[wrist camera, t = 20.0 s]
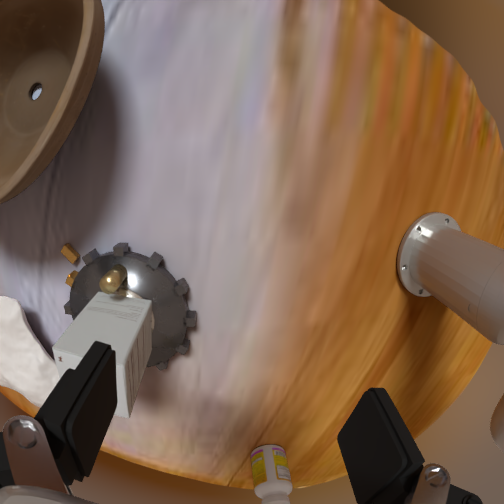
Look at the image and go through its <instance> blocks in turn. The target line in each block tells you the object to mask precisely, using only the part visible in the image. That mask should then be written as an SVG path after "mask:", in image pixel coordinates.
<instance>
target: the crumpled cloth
mask: <svg viewBox="0 0 504 504" xmlns="http://www.w3.org/2000/svg"><path fill="white" fill-rule="evenodd" d="M59 380H60V378H59V374H58V370H57V367H56V363H55V361H54V360H53V359H52V358H51V357H50V355H49V354H48V353H47V352H46V350H45V349H44V348H43V346H42V344H41V343H40V341H39V340H38V339H37V337H36V336H35V334H34V333H33V331H32V329H31V327H30V325H29V323H28V322H27V319H26V315H25V312H24V310H23V308H22V307H21V304H20V302H19V301H18V300H16V299H13V298H9V297H7V296H0V385H1V386H4V387H8V388H11V389H13V390H15V391H17V392H19V393H21V394H22V395H24V396H25V397H26V398H27V399H28V400H29V401H30V402H31V403H33V404H35V405H36V406H38V407H40V408H41V407H42V405H43V404H44V402H45V401H46V399H47V398H48V396H49V395H50V393H51V392H52V390H53V389H54V387H55V386H56V384H57V383H58V381H59Z"/></svg>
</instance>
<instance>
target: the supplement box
mask: <svg viewBox="0 0 504 504" xmlns="http://www.w3.org/2000/svg"><path fill="white" fill-rule="evenodd" d="M95 341H100V342H103V343H106V344H109V345H111V348H112V350H115V352H116V381H117V399H118V402H117V408H116V411H115V413H114V415H116V416H120V417H124V418H128V419H129V418H130V415H131V412H132V409H133V405H134V402H135V399H136V396H137V392H138V389H139V386H140V383H141V380H142V377H143V374H144V371H145V368H146V365H147V362H148V359H149V357H150V354H151V351H152V301H151V300H145V299H139V298H133V297H127V296H121V295H115V294H106V293H103V292H98V293H97V294H96V295H95V296H94V297H93V298H92V300H91V301H90V302H89V303H88V304H87V305H86V307H85V308H84V309H83V310H82V311H81V312H80V314H79V315H78V316H77V317H76V318H75V320H74V321H73V322H72V323H71V325H70V326H69V327H68V328H67V329H66V331H65V332H64V333H63V334H62V336H61V337H60V338H59V339H58V341H57V342H56V343H55V345H54V346H53V347H52V349H53V353H54V358H55V363H56V367H57V370H58V374H59V378H61V377H62V376H63V374H64V373H65V371H66V370H67V369H69V368H71V369H74V370H75V369H76V367H77V366H78V364H79V363H80V361H81V360H82V358H83V357H84V355H85V354H86V353H87V351H88V350H89V348H90V347H91V346H92V344H93V343H94V342H95Z"/></svg>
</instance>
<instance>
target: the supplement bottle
mask: <svg viewBox="0 0 504 504" xmlns="http://www.w3.org/2000/svg"><path fill="white" fill-rule="evenodd" d="M251 465H252V474H253V482H254V490H255V494H256V495H257V496H258V497H259V498H261V499H263V500H262V504H290V500H289V497H288V496H287V495H288V494H290V493H291V491H292V482H291V477H290V473H289V468H288V463H287V458H286V454H285V451H284V449H283V448H282V447H280V446H277V445H264V446H260V447H258V448H256V449H254V450H253V451H252V453H251Z"/></svg>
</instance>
